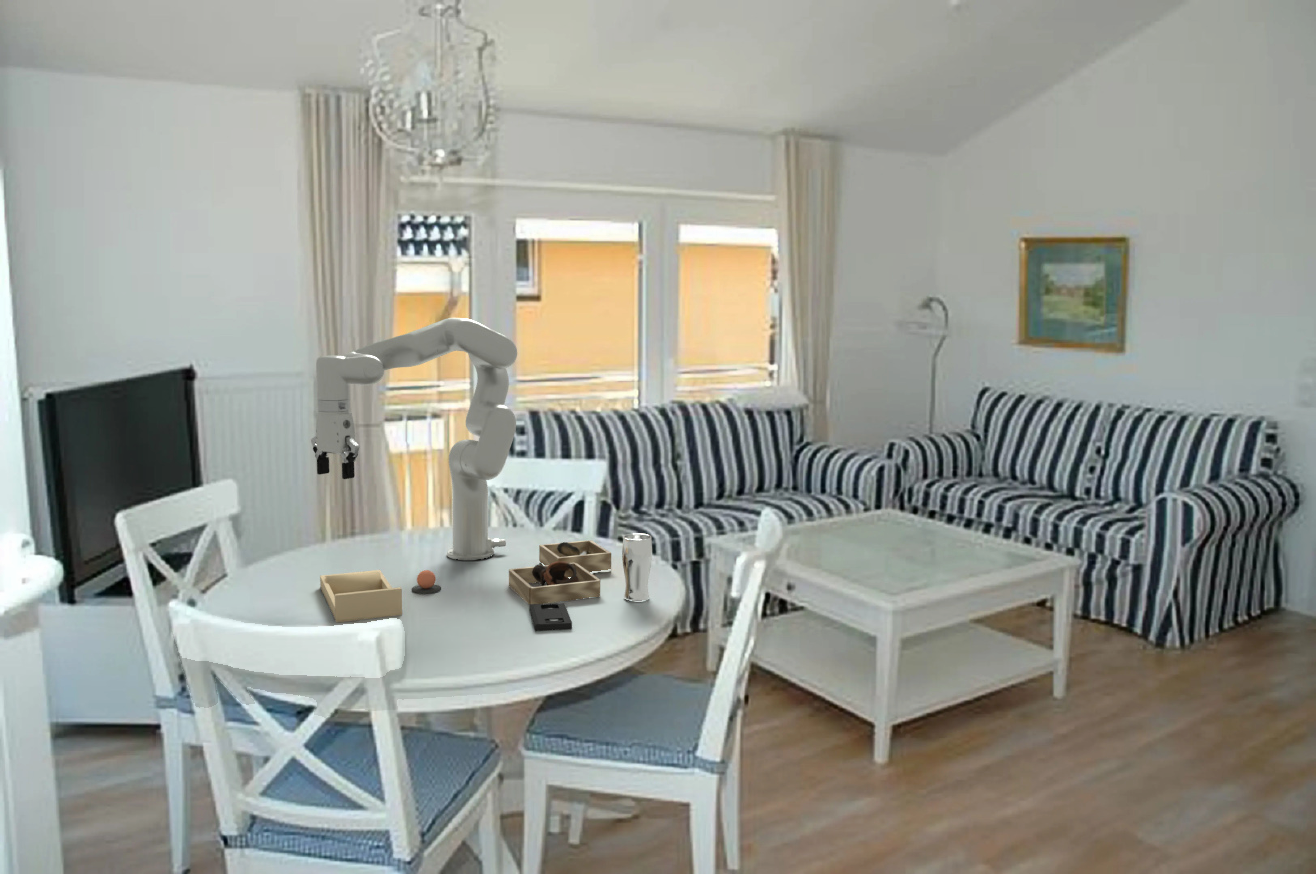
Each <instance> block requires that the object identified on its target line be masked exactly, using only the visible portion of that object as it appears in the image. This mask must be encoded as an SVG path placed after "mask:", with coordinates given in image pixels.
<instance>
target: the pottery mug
mask: <svg viewBox="0 0 1316 874" xmlns="http://www.w3.org/2000/svg"><path fill="white" fill-rule="evenodd" d="M533 567H534V568H533V570H532V574H533V576H534V578H535V579H536V580H537V581H538V582H539V583H538V584H540V585H539V586H548V585H557V584H566V583H575V582H579V579H578V577H577V572H576V569H575V567H574V566H573V565H571V564H570V563H567V562H563V561H560V562H559V561H557V562H553V563H551V564H550V565H548V567H545V566H543V565H541V564H536V565H535V566H533ZM569 569H571V570H572V571H573V576H572V577H571V578H570V579H569V578H567V577H566V576H564V574H565V572H566V571H567V570H569Z"/></svg>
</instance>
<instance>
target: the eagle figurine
mask: <svg viewBox="0 0 1316 874" xmlns="http://www.w3.org/2000/svg"><path fill="white" fill-rule="evenodd" d="M568 542H569V541H568ZM568 542H567V541H564V542H563V541H562V542H559V543H560V544H559V545H558V547H557V549H558V551H559V553H561V554H563V555H565V556H577V555H587V554H590V553H591V549H590V550H589V551H587V552H585V551H583V552H582V553H581V554H580V550H579V549H578V548H577V547H573V546H572V545H570V544H568Z"/></svg>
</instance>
